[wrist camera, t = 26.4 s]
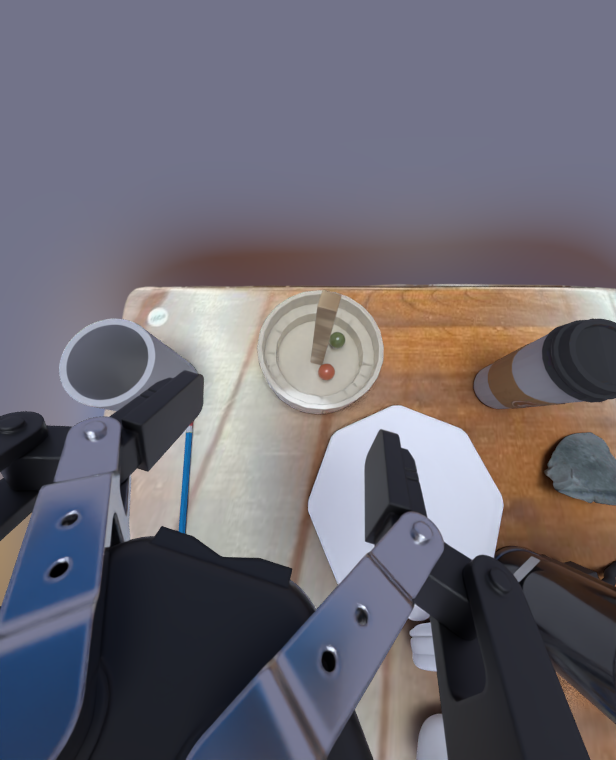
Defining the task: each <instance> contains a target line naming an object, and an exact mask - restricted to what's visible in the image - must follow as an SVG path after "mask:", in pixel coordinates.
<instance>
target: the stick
mask: <svg viewBox="0 0 616 760" xmlns="http://www.w3.org/2000/svg"><path fill="white" fill-rule="evenodd" d="M341 296H342V295H341V294H337V293H334V292H330V291H326V290H322V293H321V296H320V299H319V302H318V305H317V312H316V320H315V328H314V337H313V345H312V353H311V361H310V362H311V363H314V364H318V365H322V364H323V361H324V357H325V354H326V350H327V347H328V343H329V340H330V336H331V332H332V329H333V325H334V322H335V318H336V314H337V311H338V307H339V304H340V300H341Z"/></svg>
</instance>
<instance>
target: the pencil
mask: <svg viewBox="0 0 616 760" xmlns="http://www.w3.org/2000/svg"><path fill="white" fill-rule="evenodd" d="M192 425H193V422H192V423H191V424H190V425H189V426H188V428H187V429H186V440H185V454H184V467H183V480H182V494H181V507H180V520H179V532H181V533H184V534H185V526H186V511H187V497H188V483H189V468H190V454H191V439H192Z"/></svg>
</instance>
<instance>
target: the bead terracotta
mask: <svg viewBox="0 0 616 760" xmlns="http://www.w3.org/2000/svg"><path fill="white" fill-rule="evenodd" d="M318 375H319V377H320V378H321V379H322V380H330V379H332V378H333V377H334V375H335V369H334V367H333V366H332V365H331V364H328V363H325V364H322V365H321V366H320V367H319V369H318Z"/></svg>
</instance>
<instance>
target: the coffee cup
mask: <svg viewBox="0 0 616 760" xmlns="http://www.w3.org/2000/svg"><path fill="white" fill-rule="evenodd" d="M474 390H475V393H476V395H477V397H478V398H479V399H480V401H481V402H483V403H484V404H485V405H487V406H490V407H492V408H496V409H507V408H512V409H513V408H525V407H536V406H547V405H558V404H565V403H571V402H582V401H586V402H602V401H605V400H607V399H614V398H616V323H615V322H612V321H610V320H605V319H589V320H579V321H574V322H571V323H569V324H565V325H562V326H559V327H557V328H555V329H554V330H552V331H551V332H550V333H549V334H547V335H546V336H544V337H542V338H540V339H538V340H536V341H534V342H532V343H530V344H527V345H525V346H523V347H521V348H520V349H518V350H516V351H514V352H512V353H510V354H508V355H507V356H505V357H503V358H501V359H499V360H497V361H496V362H494V363H493V364H491V365H489V366H487V367H485V368H483V369H482V370H481V371H479V373H478V374H477V375H476V378H475V381H474Z"/></svg>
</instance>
